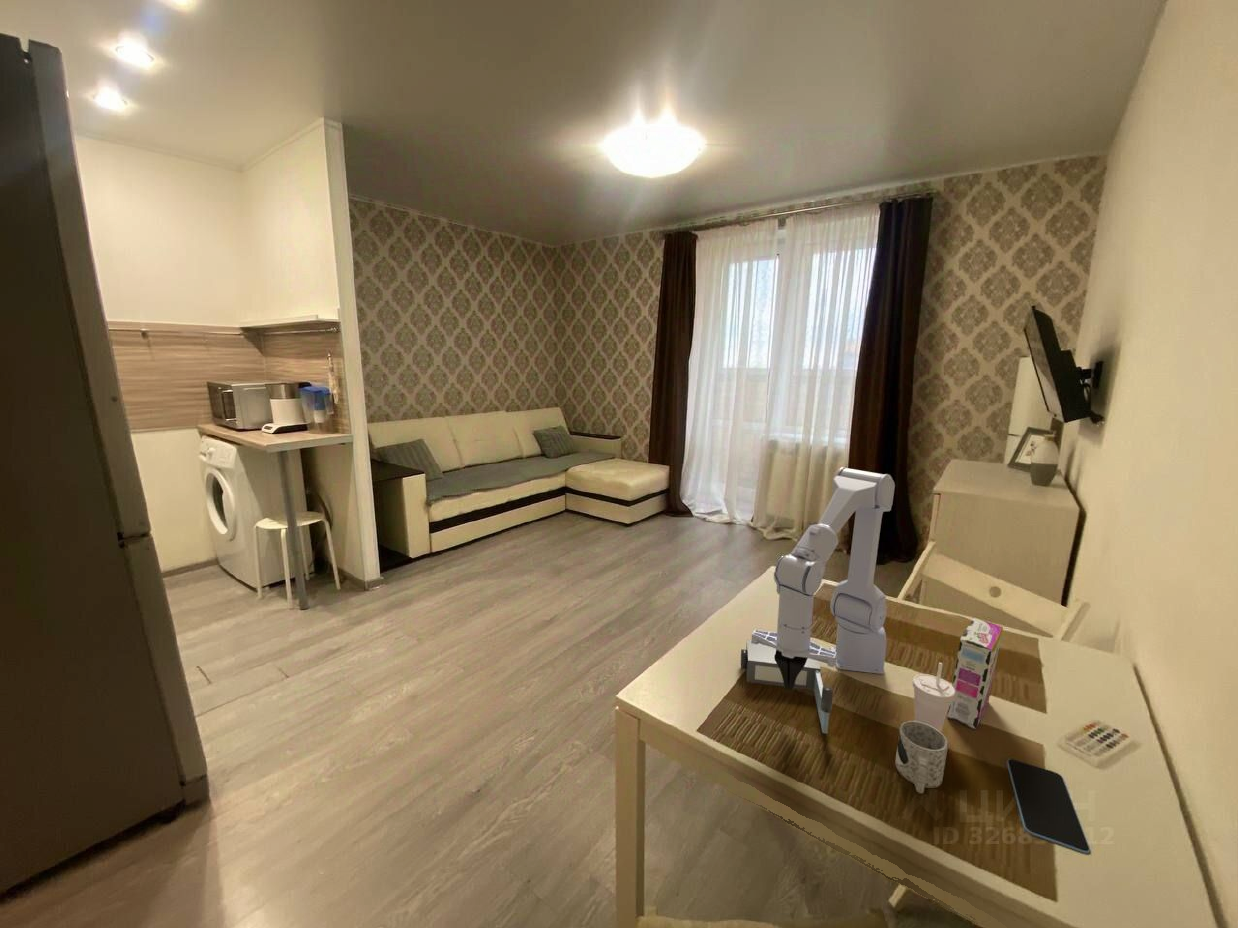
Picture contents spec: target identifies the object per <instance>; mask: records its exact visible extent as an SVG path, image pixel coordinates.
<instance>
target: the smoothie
mask: <svg viewBox="0 0 1238 928" xmlns="http://www.w3.org/2000/svg"><path fill="white" fill-rule="evenodd" d="M942 670H943V663H942V662H938V667H937V673H936V675H932V674H927V673H922V674H916V675H915V676H914V677H913V678H912V683H911V686H912V688H913V694H914V695H913V696H914V697H913V699H914V721H918V722H922V723H925V724H928V725H930V726H932V727H934V728H936V729H937V730H939V731H940V732H941V733H942V729H943V727H944V723H945V720H946V717H947V713H948V709H949V707H950V704H951V701H952V700H954V698H955V689H954V687H953V686H952V684H951V683H950V682H948V681H947V680H945V679H943V678H942V677H941V676H942Z"/></svg>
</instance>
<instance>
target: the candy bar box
mask: <svg viewBox="0 0 1238 928" xmlns="http://www.w3.org/2000/svg"><path fill="white" fill-rule="evenodd" d="M1003 628H1004V627H1003V626H1001V625H998V624H997V623H992V622H989V621H985V620H982V619H980V618H975V617H973V618H972V620H971V621H970V623H969V625H968V626H967V627H966V629H965V631H964V633H963V634H962V636H961V637H960V639H959V646H958V652H957V656H956V662H955V667H954V673H953V679H952V684H951V685H952V686H953V687H954V689H955V698H954V700H952V701H951V704H950V707H949V709H948V712H947V715H946V717H947V718H948V719H951V720H952V721H955V722H957V723H958V724H961V725H963V726H966V727H967V728H970V729H973V730H977V729H978V727H979V724H980V721H981V719H982V716H983V714H984V713H985V710H986V708H987V706H988V703H989V700H990V696H991V695H990V694H991V690H992V685H993V679H994V674H995V669H996V664H997V660H998V655H999V649H1000V645H1001V640H1002V634H1003Z"/></svg>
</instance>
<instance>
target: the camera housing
mask: <svg viewBox="0 0 1238 928" xmlns="http://www.w3.org/2000/svg"><path fill="white" fill-rule="evenodd" d="M751 641H752V638H746V645H745V646H746V647H745V648H746V649H744V648H743V649H742V648H741V651H740V669H741V670H745V671H746V683H753V684H761V685H771V686H779V687H784V682H783V677H782V674H781V671H780V669H779V667H778V665H777V663H776V661H775V658H774V656H775V654H776V649H775V648H773V647H770V646H766V645H763V644H760V643H758V644H753V643H751ZM816 670H819V671H820V672H821V666H820V661H817V660H813V659H810V658H808V659H807V661H806V664H805V666H804V667H803V669H802V670H801V671H800V673H799V674H798V676H797V678H796V681H795V686H794V689H801V690H802V689H803V690H809V691H814V682H815V671H816Z"/></svg>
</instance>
